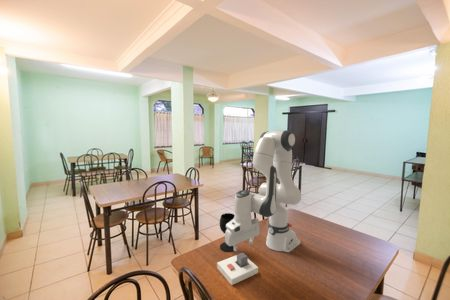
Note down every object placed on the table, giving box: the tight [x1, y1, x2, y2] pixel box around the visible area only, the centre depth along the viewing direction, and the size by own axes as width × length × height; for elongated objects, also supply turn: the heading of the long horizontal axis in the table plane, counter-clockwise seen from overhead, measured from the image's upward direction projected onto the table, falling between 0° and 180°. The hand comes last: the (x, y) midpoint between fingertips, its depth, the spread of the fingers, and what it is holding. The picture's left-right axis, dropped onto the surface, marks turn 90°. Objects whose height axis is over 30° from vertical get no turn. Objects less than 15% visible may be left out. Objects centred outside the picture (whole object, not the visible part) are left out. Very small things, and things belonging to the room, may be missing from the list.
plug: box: [236, 252, 249, 268], centre depth 108 cm, size 4×4×7 cm
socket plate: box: [216, 254, 259, 286], centre depth 107 cm, size 16×14×4 cm
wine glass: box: [219, 212, 235, 253], centre depth 127 cm, size 10×10×20 cm
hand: (243, 247), depth 108 cm, fingers open, 8 cm apart
